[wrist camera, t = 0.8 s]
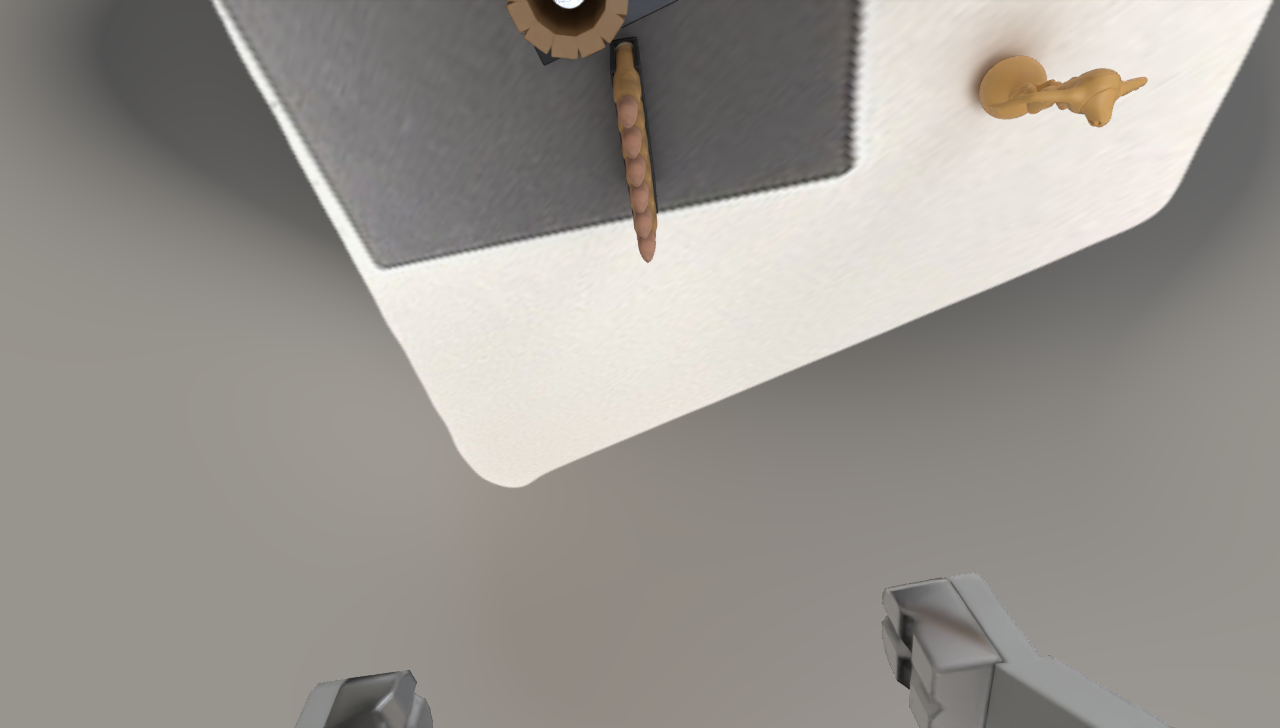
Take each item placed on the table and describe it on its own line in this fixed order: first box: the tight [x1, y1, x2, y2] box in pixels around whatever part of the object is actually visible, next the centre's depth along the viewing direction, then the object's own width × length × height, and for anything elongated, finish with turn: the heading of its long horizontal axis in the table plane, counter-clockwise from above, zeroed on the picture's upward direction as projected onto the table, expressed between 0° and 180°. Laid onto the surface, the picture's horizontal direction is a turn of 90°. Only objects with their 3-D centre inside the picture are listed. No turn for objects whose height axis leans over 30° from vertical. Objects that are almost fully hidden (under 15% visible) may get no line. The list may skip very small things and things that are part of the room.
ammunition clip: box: [610, 37, 658, 263], centre depth 41 cm, size 11×2×12 cm, turn 7°
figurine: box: [979, 56, 1147, 127], centre depth 39 cm, size 8×6×12 cm
